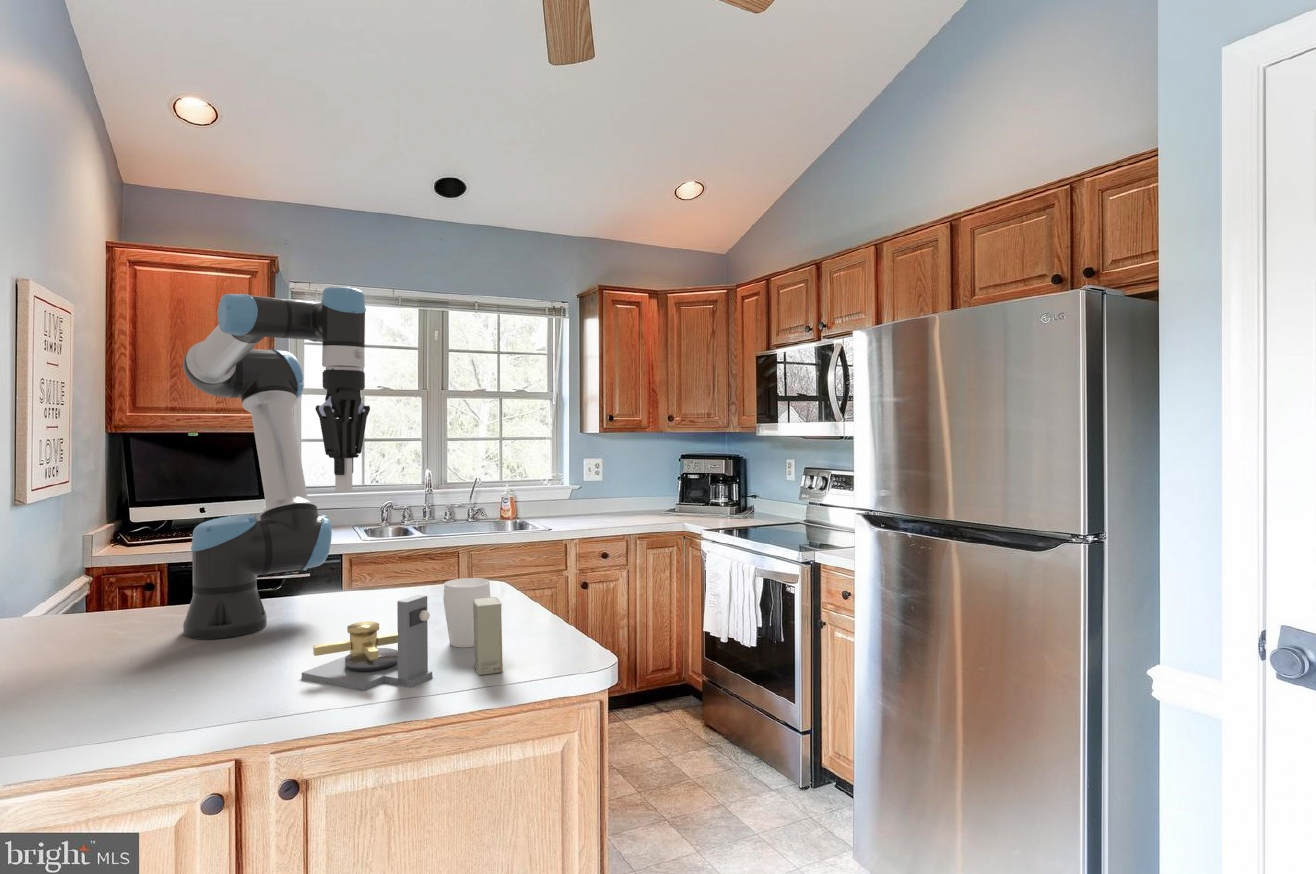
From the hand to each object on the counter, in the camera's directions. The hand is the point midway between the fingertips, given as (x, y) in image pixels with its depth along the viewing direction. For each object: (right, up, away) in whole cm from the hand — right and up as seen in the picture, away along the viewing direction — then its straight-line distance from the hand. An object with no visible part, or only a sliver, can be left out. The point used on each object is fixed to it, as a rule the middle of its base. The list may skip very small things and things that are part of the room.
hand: (343, 491), depth 146 cm
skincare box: (+31, -31, -12) cm, 45 cm away
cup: (+23, -30, +3) cm, 38 cm away
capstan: (+10, -29, -13) cm, 34 cm away
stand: (+12, -31, -15) cm, 36 cm away
